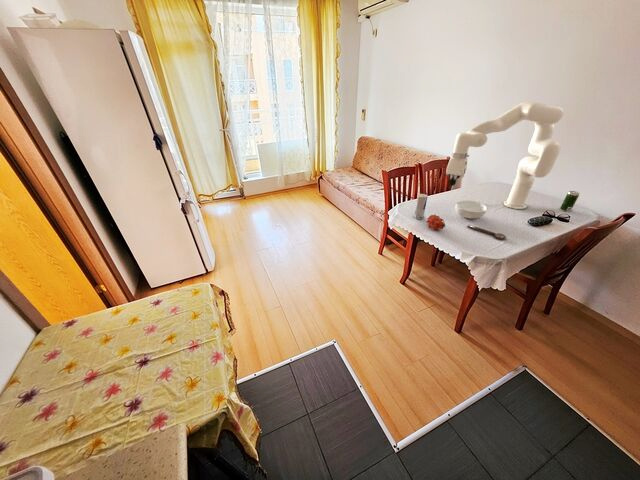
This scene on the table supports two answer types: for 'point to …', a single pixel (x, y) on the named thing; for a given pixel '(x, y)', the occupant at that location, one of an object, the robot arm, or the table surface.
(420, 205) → the beverage can
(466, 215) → the cereal bowl
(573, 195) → the beer can
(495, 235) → the wooden spoon
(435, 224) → the dragon fruit
